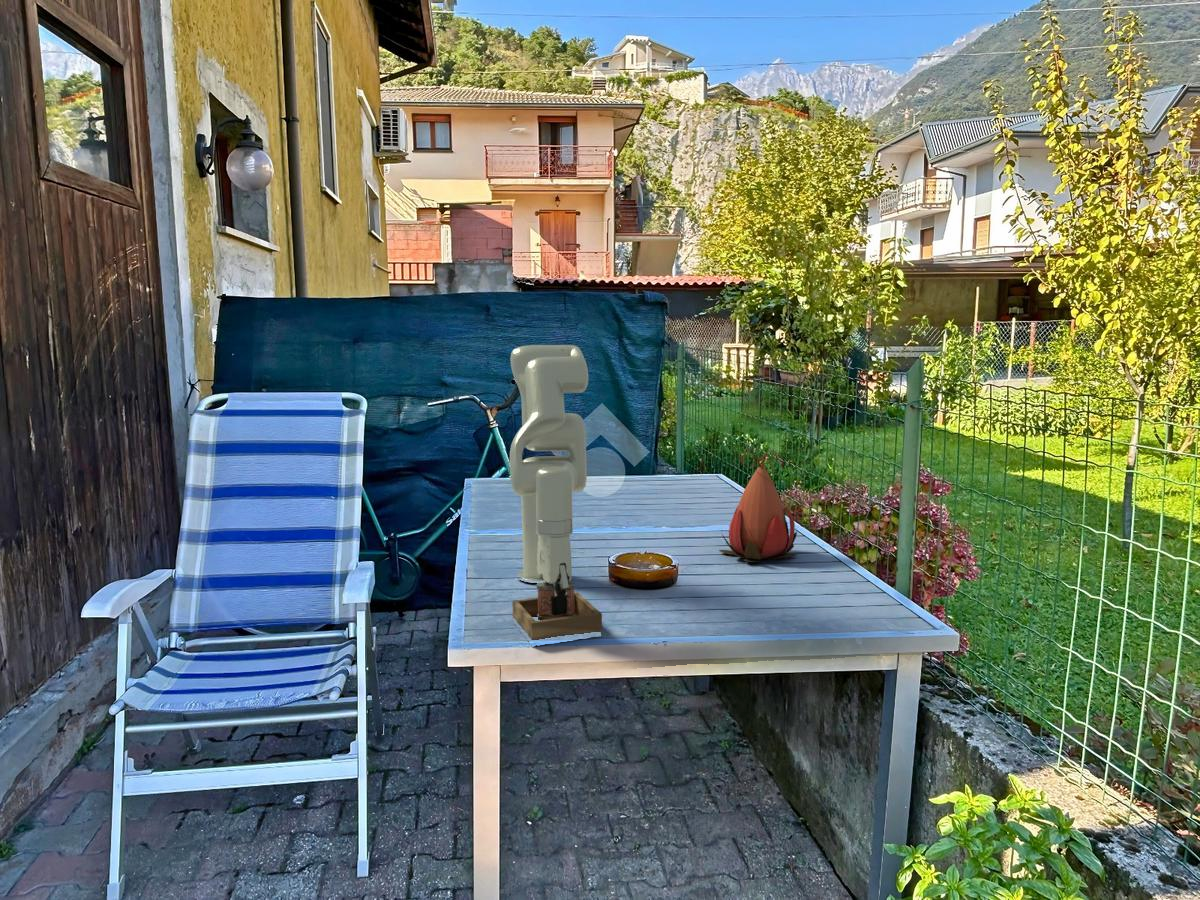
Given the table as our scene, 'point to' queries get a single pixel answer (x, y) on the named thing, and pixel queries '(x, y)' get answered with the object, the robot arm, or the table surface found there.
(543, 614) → the lighter
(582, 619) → the walled box
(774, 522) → the decorative flower
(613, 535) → the table surface
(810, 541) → the table surface
